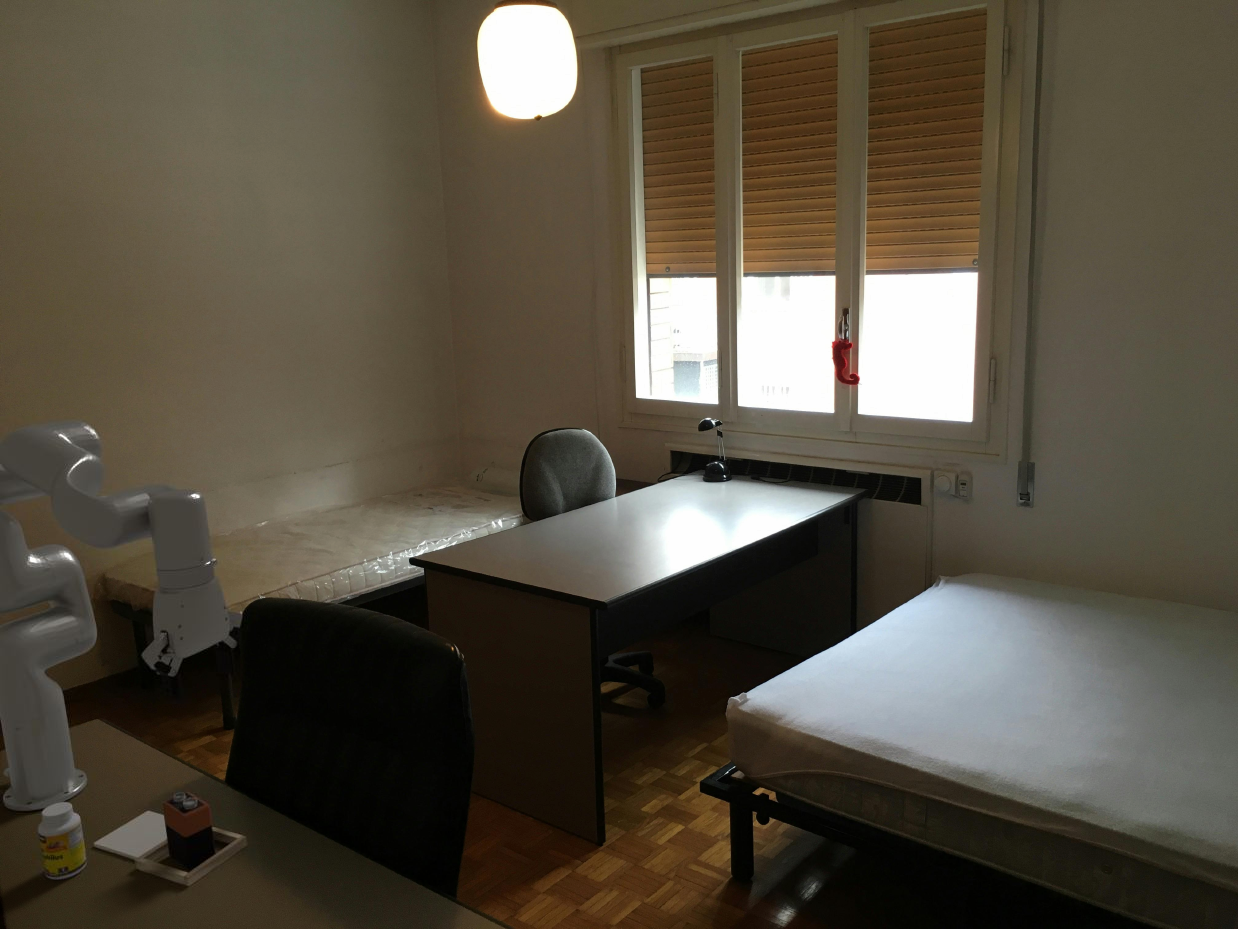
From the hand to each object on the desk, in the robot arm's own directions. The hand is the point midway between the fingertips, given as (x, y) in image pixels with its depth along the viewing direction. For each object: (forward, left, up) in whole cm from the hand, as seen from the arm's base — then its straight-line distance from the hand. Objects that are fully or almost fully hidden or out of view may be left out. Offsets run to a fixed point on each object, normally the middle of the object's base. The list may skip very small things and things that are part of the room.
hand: (201, 685), depth 143 cm
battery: (-4, -2, -28) cm, 28 cm away
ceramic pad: (-16, -1, -28) cm, 32 cm away
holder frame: (-4, -2, -28) cm, 28 cm away
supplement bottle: (-19, -12, -28) cm, 36 cm away
